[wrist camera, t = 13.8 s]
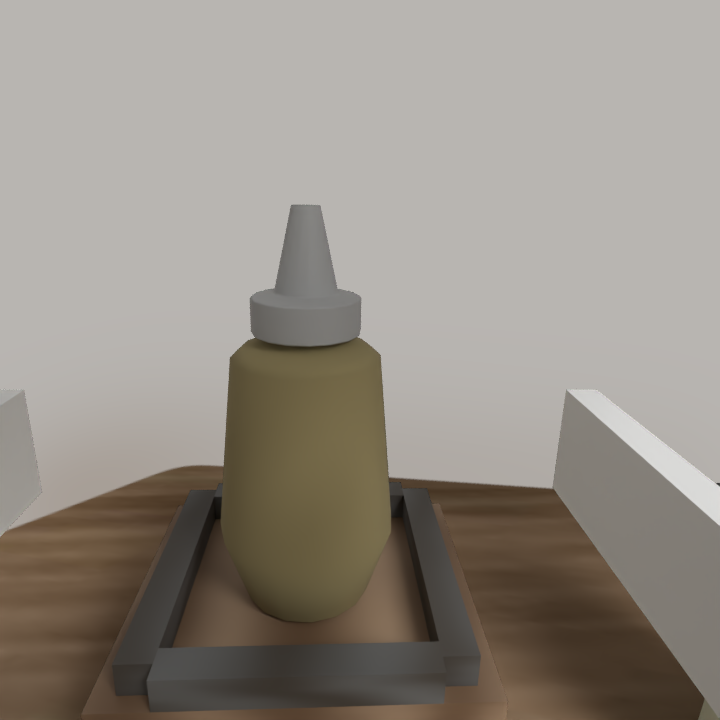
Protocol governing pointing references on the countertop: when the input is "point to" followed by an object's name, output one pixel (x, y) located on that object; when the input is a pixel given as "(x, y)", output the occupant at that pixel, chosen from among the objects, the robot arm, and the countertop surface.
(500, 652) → the countertop surface
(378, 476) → the squeeze bottle
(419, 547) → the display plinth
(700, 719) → the can
